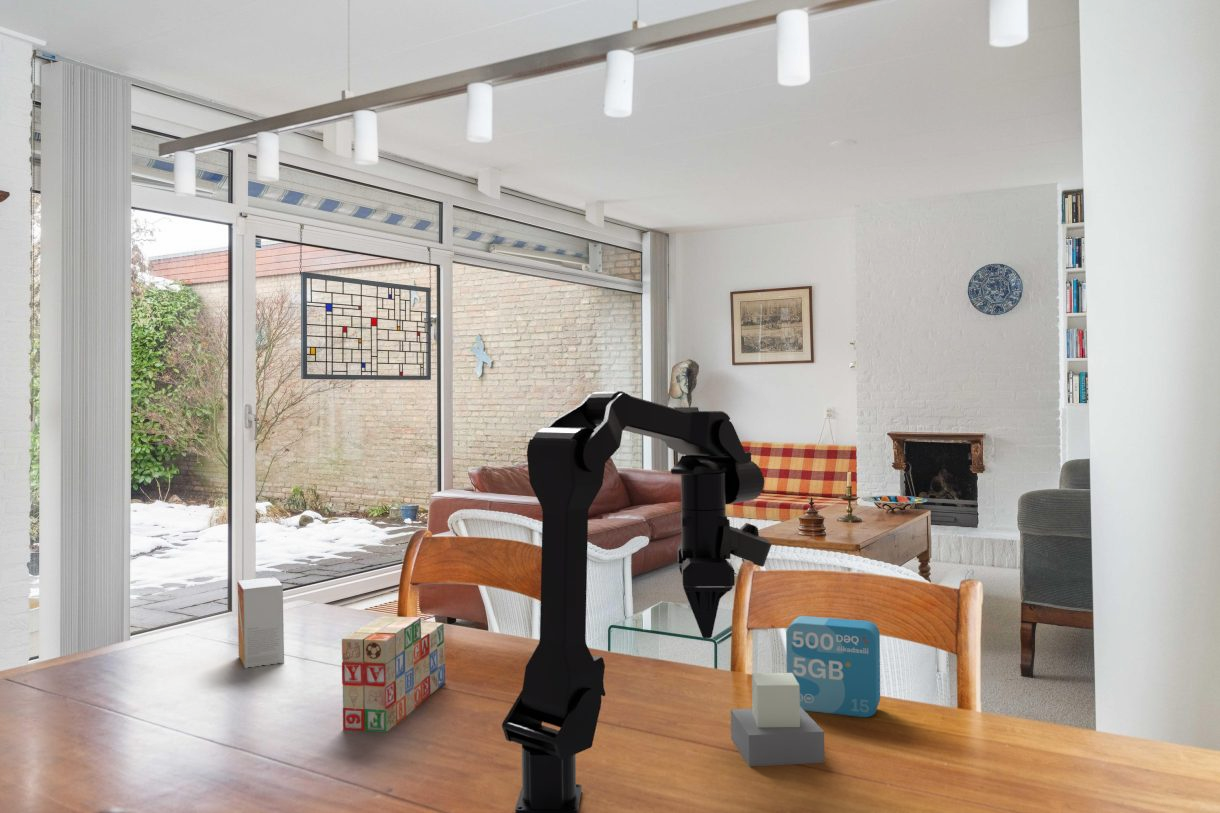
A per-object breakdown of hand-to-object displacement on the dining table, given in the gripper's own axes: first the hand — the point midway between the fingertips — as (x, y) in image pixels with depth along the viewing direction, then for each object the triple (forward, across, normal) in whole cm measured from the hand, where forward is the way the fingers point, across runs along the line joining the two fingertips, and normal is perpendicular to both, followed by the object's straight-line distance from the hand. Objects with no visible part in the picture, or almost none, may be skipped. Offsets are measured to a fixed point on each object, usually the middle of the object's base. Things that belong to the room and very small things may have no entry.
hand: (704, 628), depth 119 cm
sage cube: (+9, -7, -8) cm, 14 cm away
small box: (+13, +32, +72) cm, 80 cm away
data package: (+13, +8, -18) cm, 24 cm away
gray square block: (+13, -7, -8) cm, 17 cm away
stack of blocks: (+13, +10, +43) cm, 46 cm away
